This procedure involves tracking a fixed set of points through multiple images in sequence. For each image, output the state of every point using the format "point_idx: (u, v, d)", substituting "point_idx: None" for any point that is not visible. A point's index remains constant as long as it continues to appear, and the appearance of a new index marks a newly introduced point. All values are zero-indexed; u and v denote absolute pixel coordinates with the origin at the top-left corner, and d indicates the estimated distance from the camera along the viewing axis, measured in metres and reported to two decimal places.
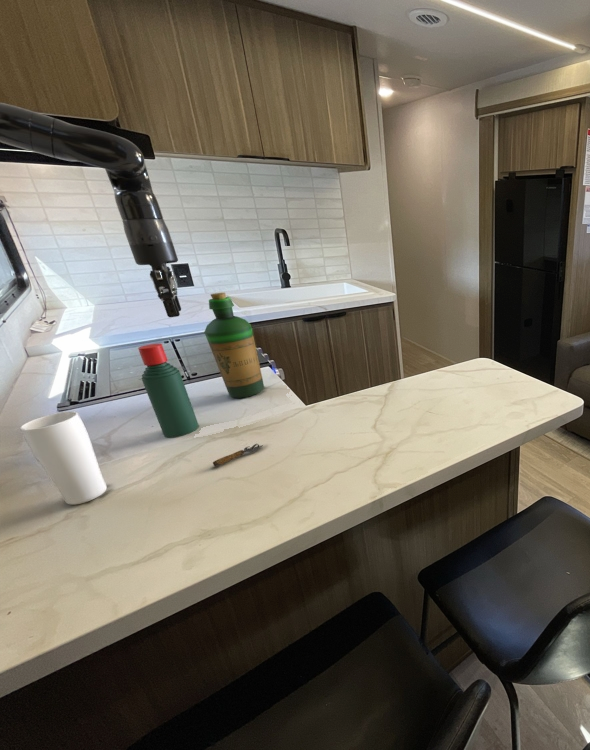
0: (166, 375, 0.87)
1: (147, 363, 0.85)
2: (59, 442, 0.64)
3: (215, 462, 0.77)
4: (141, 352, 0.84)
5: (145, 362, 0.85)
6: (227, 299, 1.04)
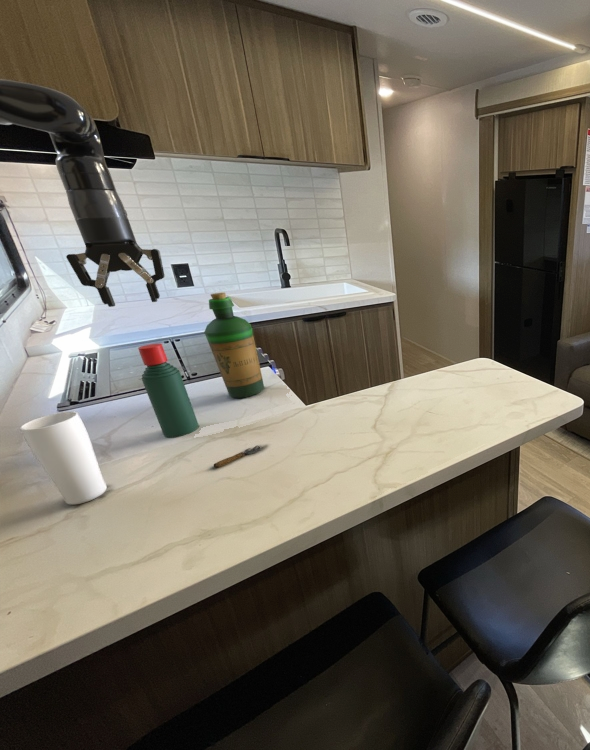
0: (166, 375, 0.87)
1: (147, 363, 0.85)
2: (59, 442, 0.64)
3: (216, 464, 0.77)
4: (141, 352, 0.84)
5: (145, 362, 0.85)
6: (227, 299, 1.04)
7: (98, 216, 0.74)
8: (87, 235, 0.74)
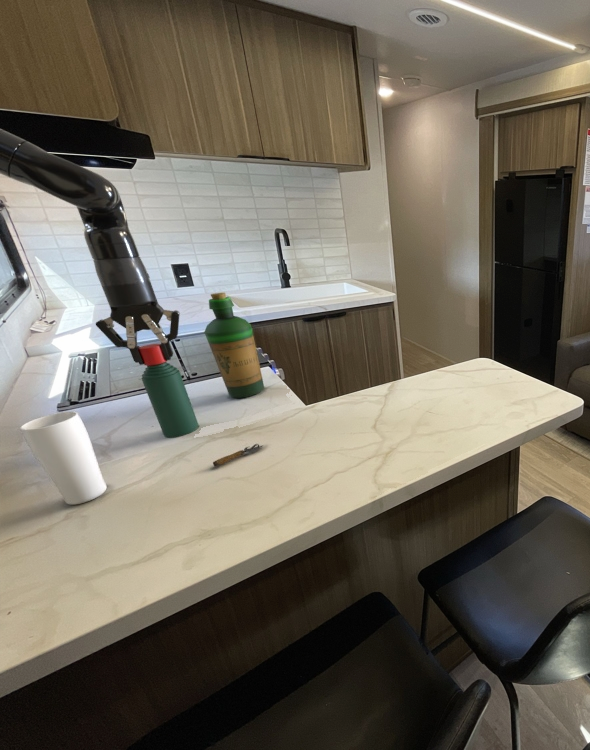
0: (166, 375, 0.87)
1: (147, 363, 0.85)
2: (59, 442, 0.64)
3: (215, 462, 0.77)
4: (141, 352, 0.84)
5: (145, 362, 0.85)
6: (227, 299, 1.04)
7: (123, 283, 0.78)
8: (113, 300, 0.79)
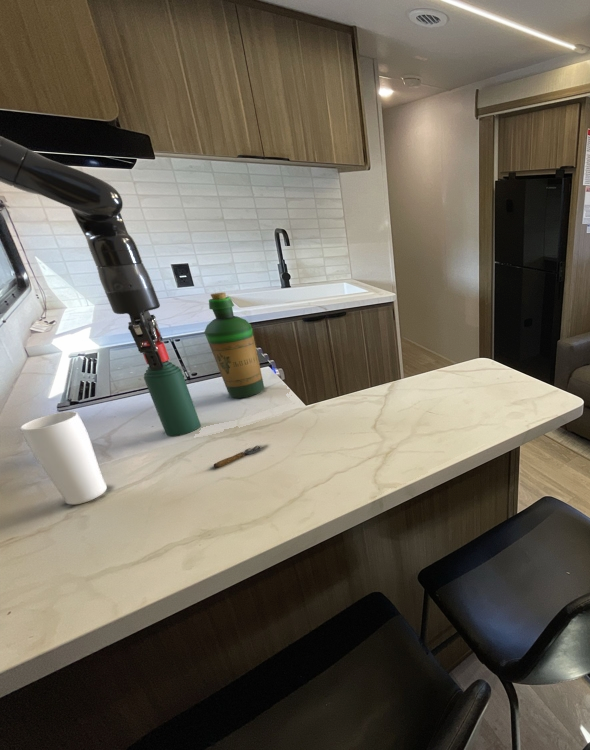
0: (169, 373, 0.87)
1: (165, 358, 0.87)
2: (59, 442, 0.64)
3: (216, 464, 0.77)
4: (159, 348, 0.86)
5: (163, 358, 0.87)
6: (227, 299, 1.04)
7: (152, 285, 0.84)
8: (150, 302, 0.82)
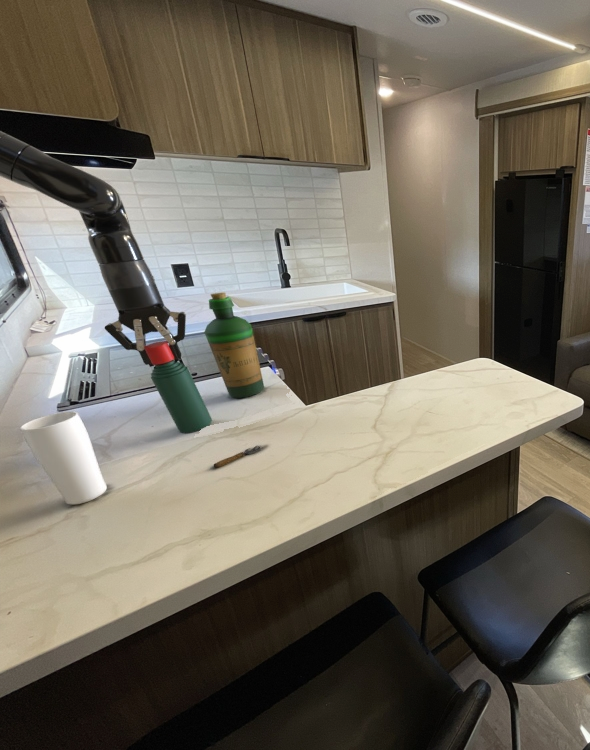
0: (163, 377, 0.86)
1: (162, 361, 0.85)
2: (59, 442, 0.64)
3: (216, 464, 0.77)
4: (154, 351, 0.84)
5: (159, 361, 0.85)
6: (227, 299, 1.04)
7: (129, 286, 0.79)
8: (120, 304, 0.80)
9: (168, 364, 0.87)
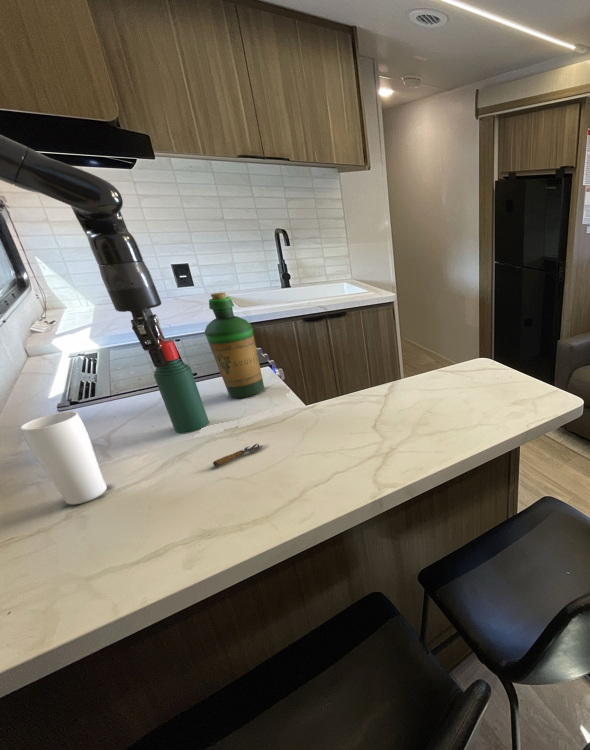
0: (171, 373, 0.87)
1: None
2: (59, 442, 0.64)
3: (215, 462, 0.77)
4: (174, 345, 0.88)
5: (177, 354, 0.89)
6: (227, 299, 1.04)
7: (153, 283, 0.84)
8: (152, 300, 0.83)
9: (174, 362, 0.89)
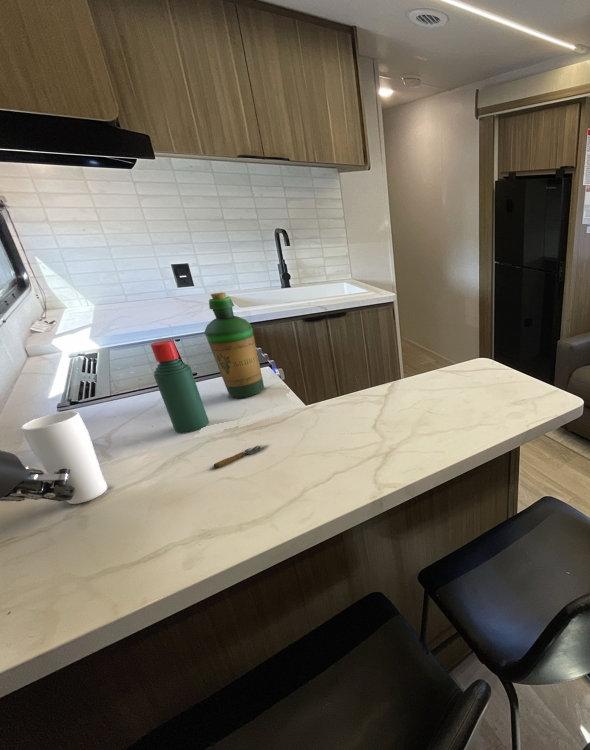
0: (171, 373, 0.87)
1: None
2: (60, 441, 0.64)
3: (216, 464, 0.77)
4: (174, 344, 0.89)
5: (177, 354, 0.89)
6: (227, 299, 1.04)
7: None
8: None
9: (174, 362, 0.89)
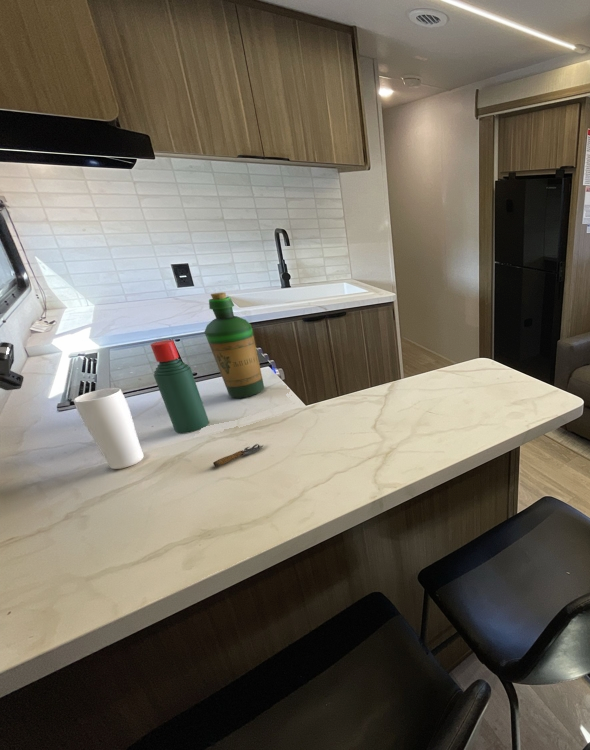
0: (171, 373, 0.87)
1: None
2: (107, 413, 0.74)
3: (215, 462, 0.77)
4: (174, 344, 0.89)
5: (177, 354, 0.89)
6: (227, 299, 1.04)
7: None
8: None
9: (174, 362, 0.89)
